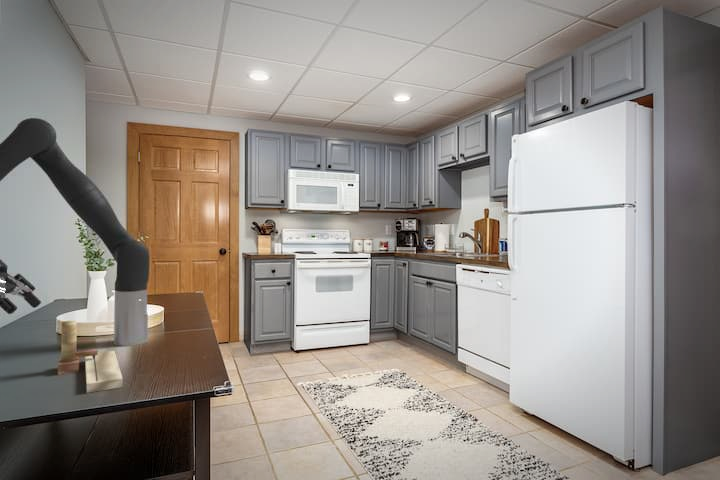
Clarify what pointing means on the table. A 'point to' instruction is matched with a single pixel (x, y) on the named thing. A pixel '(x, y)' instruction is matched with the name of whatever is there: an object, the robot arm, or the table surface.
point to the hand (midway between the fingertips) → (26, 308)
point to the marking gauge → (71, 349)
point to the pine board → (102, 372)
